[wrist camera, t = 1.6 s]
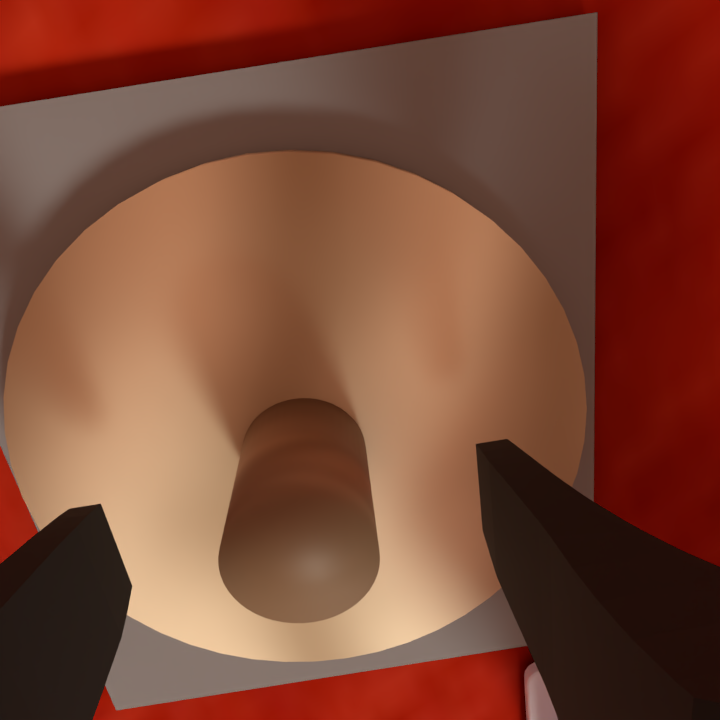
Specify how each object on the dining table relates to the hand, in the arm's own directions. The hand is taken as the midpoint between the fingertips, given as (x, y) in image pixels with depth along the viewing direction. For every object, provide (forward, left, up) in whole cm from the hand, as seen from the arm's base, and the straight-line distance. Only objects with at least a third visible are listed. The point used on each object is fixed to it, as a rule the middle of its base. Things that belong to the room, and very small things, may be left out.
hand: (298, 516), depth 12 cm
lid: (0, 0, -3) cm, 3 cm away
